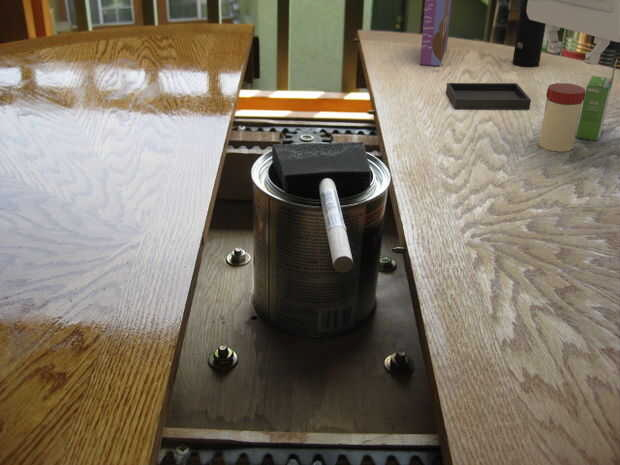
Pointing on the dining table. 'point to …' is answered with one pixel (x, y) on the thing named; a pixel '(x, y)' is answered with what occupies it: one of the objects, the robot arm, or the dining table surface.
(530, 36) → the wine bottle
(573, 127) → the jar
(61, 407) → the dining table surface
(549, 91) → the jar lid
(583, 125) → the ink box
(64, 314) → the dining table surface
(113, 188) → the dining table surface
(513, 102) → the tray
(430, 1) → the cereal box
